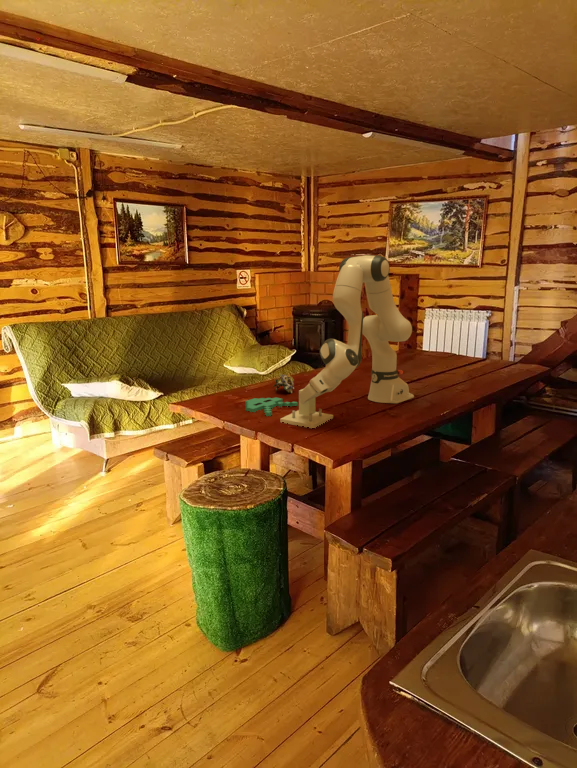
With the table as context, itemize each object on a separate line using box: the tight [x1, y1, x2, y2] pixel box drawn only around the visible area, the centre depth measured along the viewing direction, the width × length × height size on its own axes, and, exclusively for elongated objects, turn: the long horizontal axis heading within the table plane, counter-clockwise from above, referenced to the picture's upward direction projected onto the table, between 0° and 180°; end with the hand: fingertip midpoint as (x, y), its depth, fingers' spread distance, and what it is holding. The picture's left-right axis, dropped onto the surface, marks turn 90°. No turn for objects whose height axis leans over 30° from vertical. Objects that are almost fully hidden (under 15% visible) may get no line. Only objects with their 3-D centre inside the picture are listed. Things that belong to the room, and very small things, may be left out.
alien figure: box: [244, 396, 299, 417], centre depth 248 cm, size 20×2×20 cm
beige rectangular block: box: [298, 388, 317, 416], centre depth 227 cm, size 5×5×10 cm
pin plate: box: [279, 408, 334, 429], centre depth 229 cm, size 16×16×4 cm
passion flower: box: [272, 372, 295, 394], centre depth 272 cm, size 11×11×12 cm
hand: (305, 400), depth 227 cm, fingers closed on beige rectangular block, 5 cm apart
